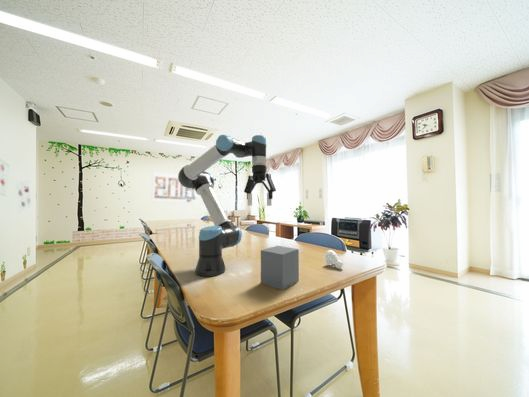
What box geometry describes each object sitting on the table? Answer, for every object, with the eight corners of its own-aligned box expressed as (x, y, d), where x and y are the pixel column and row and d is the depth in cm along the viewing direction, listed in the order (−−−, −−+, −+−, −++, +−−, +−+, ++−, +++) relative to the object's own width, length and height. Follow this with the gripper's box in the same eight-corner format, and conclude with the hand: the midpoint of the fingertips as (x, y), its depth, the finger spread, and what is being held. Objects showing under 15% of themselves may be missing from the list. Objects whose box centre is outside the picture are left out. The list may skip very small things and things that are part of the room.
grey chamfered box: (260, 282, 92) (260, 250, 92) (277, 275, 102) (277, 245, 102) (282, 289, 84) (282, 254, 85) (298, 280, 94) (298, 249, 95)
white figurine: (332, 248, 122) (347, 255, 110) (331, 262, 122) (346, 270, 111) (323, 249, 120) (337, 256, 108) (323, 263, 120) (336, 272, 109)
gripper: (237, 167, 113) (237, 205, 112) (273, 161, 97) (273, 205, 96) (247, 169, 119) (247, 205, 118) (282, 163, 103) (282, 205, 102)
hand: (259, 205), depth 107 cm, fingers open, 13 cm apart
